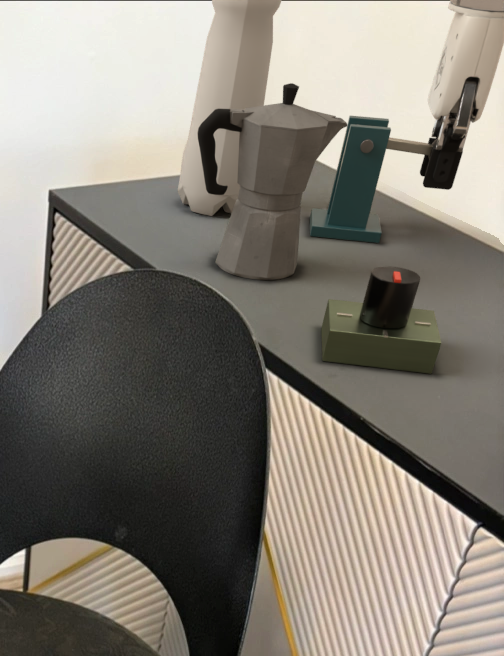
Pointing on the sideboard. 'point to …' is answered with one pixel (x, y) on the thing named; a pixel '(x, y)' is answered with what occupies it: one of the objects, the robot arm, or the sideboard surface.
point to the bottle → (227, 94)
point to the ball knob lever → (411, 146)
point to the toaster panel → (379, 339)
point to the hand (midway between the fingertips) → (435, 180)
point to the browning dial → (389, 297)
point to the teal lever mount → (355, 184)
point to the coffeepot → (266, 181)
